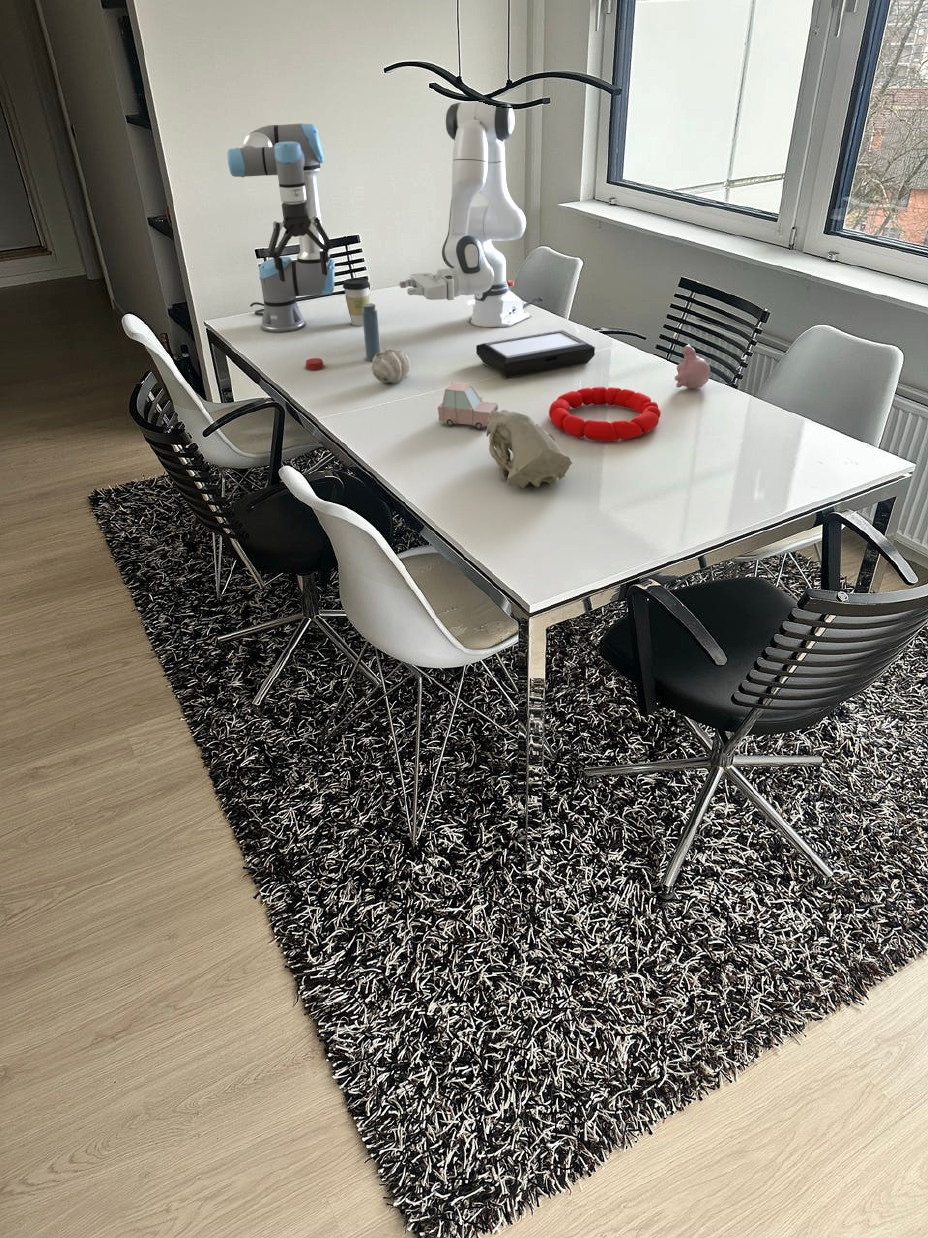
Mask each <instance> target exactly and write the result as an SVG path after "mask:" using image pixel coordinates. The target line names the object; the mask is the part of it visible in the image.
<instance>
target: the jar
mask: <svg viewBox="0 0 928 1238" xmlns="http://www.w3.org/2000/svg"><path fill="white" fill-rule="evenodd" d="M362 316H363V325H362V328H363V337H364V350H365V358H366V361H369V362H372V361H373V358H374V357H375V354H376V353H381V343H380V331H379V320H378V318H379V317H378V310H377V309H376V304H375V303H370V302H369V303H368V304H364V305H363V311H362Z"/></svg>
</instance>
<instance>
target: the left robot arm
mask: <svg viewBox="0 0 928 1238" xmlns="http://www.w3.org/2000/svg"><path fill="white" fill-rule="evenodd" d="M319 134H320V133H319V131H318V128H317V127H316V125H315V124H313V123H290V124H270V125H269V124H268V125H264V126H262V127H260V128H257V129H254V130H253V131H251V132H250V133H249V134H247V135H246V136H245V138H244V141H243V143H242V147H235V148H229V149H228V150H227V165H228V169H229V173H230V175H231V176H232V177H233V178H245V177H262V176H263V177H264V176H277V179H278V188H279V198H280V201H281V202H282V204H281V210H282V211H281V212H282V219H283V221H282V222H280V221H279V222H278V221H273V223H272V227H273V230H272V234H271V237H270V240H269V243H268V248H267V251H266V256H267V257H269V258H270V259H267V260H265V261H263V262H261V263H260V265H259V266H258V270H259V280H260V287H261V292H262V299H263V302H257V301H255V302H252V303H250V305H249V307H250V308H251V307H253V306H256V305H257V306H262V307H263V308H260V309H256V310H255V311H254V315H255V316H262V319H261V326H262V330H264V331H265V332H271V333H286V332H293V331H296V330H297V331H298V330H300V329H302V328H304V326H305V319H304V317H303V314H302V312H301V310H300V307H299V306H298V305H299V304H298V303H297V297H305V296H306V297H310V296H320V297H322V296H326V295H331V294H333V293H334V291H335V268H336V267H335V264H336V262H335V259H332V258H331V253H329V251H330V250H333V249H334V245H333V243H332V241H331V240H330V238H329V237H328V235H327V233H326V231H325V230H324V228H323V220H322V211H321V203H320V193H319V184H318V183H319V182H318V174H319V172H320V170H321V168H322V167H321V164H324V162H325V158H324V153H323V148H322V142H321V138H320V135H319ZM283 228H284V229H285V231H284V233H283V236H282V238H281V239H280V241H279V243H278V240H279V237H280V234H281V231H282V229H283ZM292 237H294V238H297V237H298V242H299V243H298V244H299V250H300V251H299V252H298V253H297V255H296V261H292V258H291V257H290V256H281V255H282V253H283V252H284V250H285V248H286V246H287V245H288V243H289V241H290V240H291V239H292Z"/></svg>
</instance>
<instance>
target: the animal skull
mask: <svg viewBox="0 0 928 1238" xmlns="http://www.w3.org/2000/svg"><path fill="white" fill-rule="evenodd" d="M485 436H486V438H487V437H489V438H488V440H489V444H488V445H489V446H488V450H489V454H490V456H491V457H492V458H493V459H494V460H495V462H496V464H497V466H499V468H500V470H501V471H502V472H501V478H502V479H507V480H506V484H507V486H517V487H518V486H519V488H523V489H524V488H526V486H527V485H529V483H531V485H533V486H534V487H536V488H540V485H541V484H542V482H544V483H549V484H550V485H553V484H555V483H556V482H557V480H561V479H563V478H565V476H566V474H567V472H568V471H569V469H570V467H571V466H572V464H573V462H572V461H571V458H570V457H568V456H567V455H565V453H564V451H562V449H561V448H560V446H559V444H557V443H556V439H555V438H554V436H553V435H551V434H550V433H548V432H547V431H546V430H545V429H544V428H542V427H541V426H539V425H538V424H537V423H536V424H535V422H534V421H533V419H532V418H531V417H530V416H529V415H527V414H524V413H519V412H515V411H509V410H507V409H502V410H500V411H499V410H497V411H496V412H492V413H491V414H490V422H488V423H487V427H486V435H485ZM511 453H512V454H511ZM511 455H512V457H513V458H512V460H511ZM507 474H508V475H507Z"/></svg>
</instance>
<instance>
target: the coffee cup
mask: <svg viewBox="0 0 928 1238" xmlns="http://www.w3.org/2000/svg"><path fill="white" fill-rule="evenodd" d="M370 287H371V283H370V282H369V279H367V278H365V277H351V278H347V279H345V280H344V281H343V285H342V288H343V290H344V297H345V301H346V305H347V310H348V314H349V318H350V323H351V325H353V326H357V327H359V326H363V316H362V311H363V305H364V304H368V303H370Z"/></svg>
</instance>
